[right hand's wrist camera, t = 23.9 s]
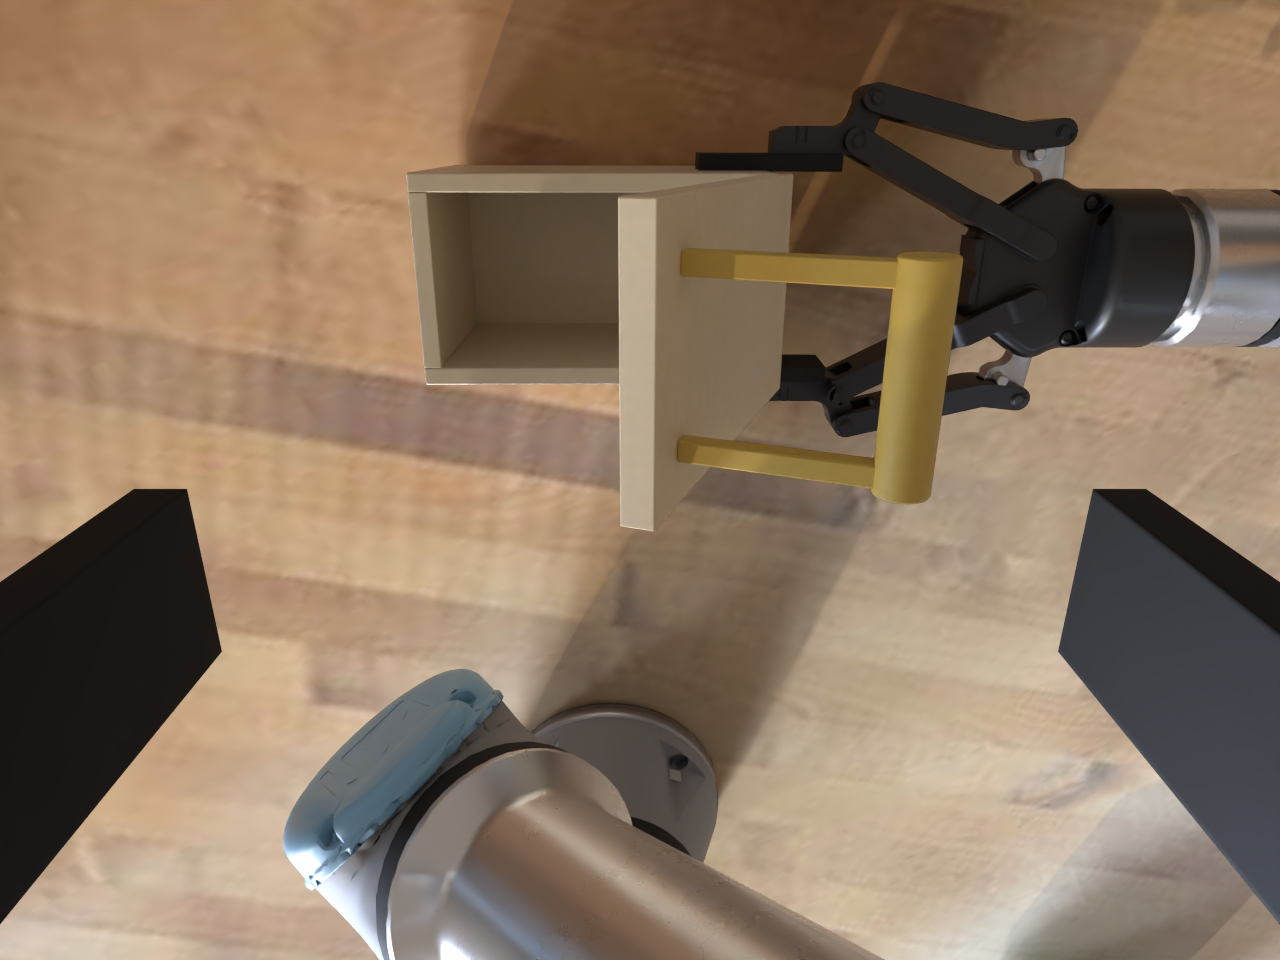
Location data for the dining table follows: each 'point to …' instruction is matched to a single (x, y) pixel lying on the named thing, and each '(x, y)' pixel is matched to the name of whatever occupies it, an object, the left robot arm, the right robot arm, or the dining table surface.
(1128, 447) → the dining table surface
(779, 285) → the lid
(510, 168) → the chest
